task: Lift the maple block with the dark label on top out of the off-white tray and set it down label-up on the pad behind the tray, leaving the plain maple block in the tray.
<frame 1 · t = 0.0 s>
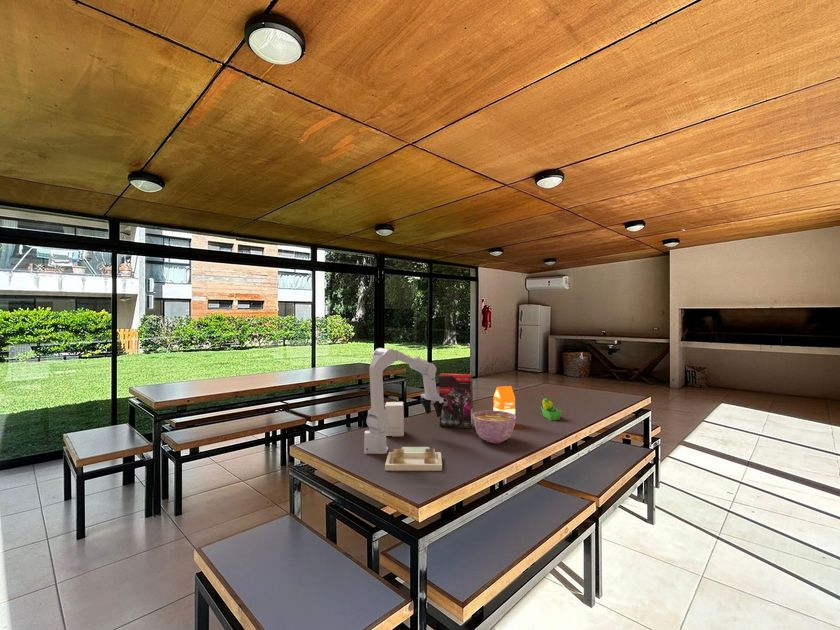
hand: (434, 414, 189), 11 cm above the table, tool pointing down, fingers open, 7 cm apart
bowl of food: (494, 440, 183), on the table
tray: (414, 464, 154), on the table
labelled block: (429, 463, 154), resting on tray
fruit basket: (550, 418, 223), on the table
pad: (415, 452, 168), on the table
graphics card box: (456, 426, 207), on the table
orange juice: (504, 424, 211), on the table
plain block: (398, 463, 154), resting on tray
supplement box: (394, 434, 194), on the table
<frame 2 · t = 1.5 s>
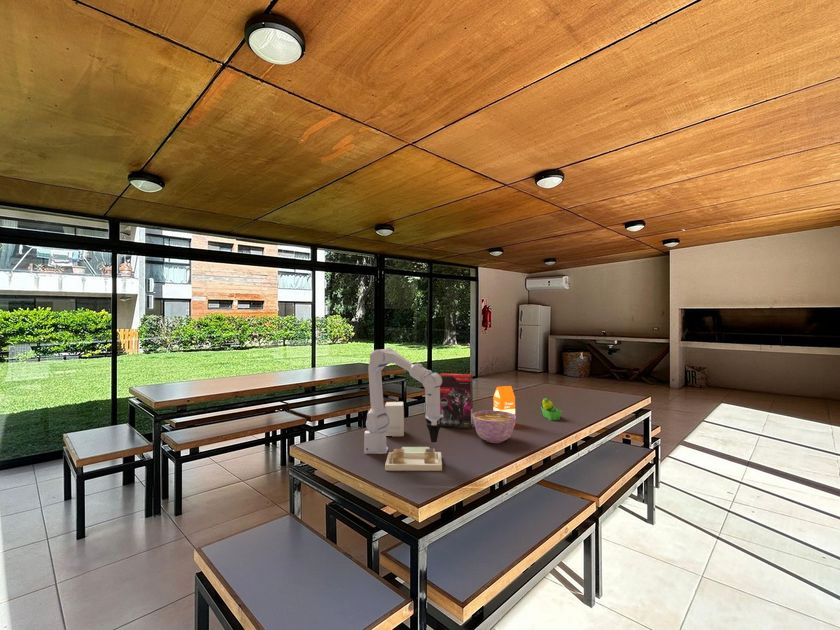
hand: (433, 438, 156), 9 cm above the table, tool pointing down, fingers open, 7 cm apart
nothing on the table moved.
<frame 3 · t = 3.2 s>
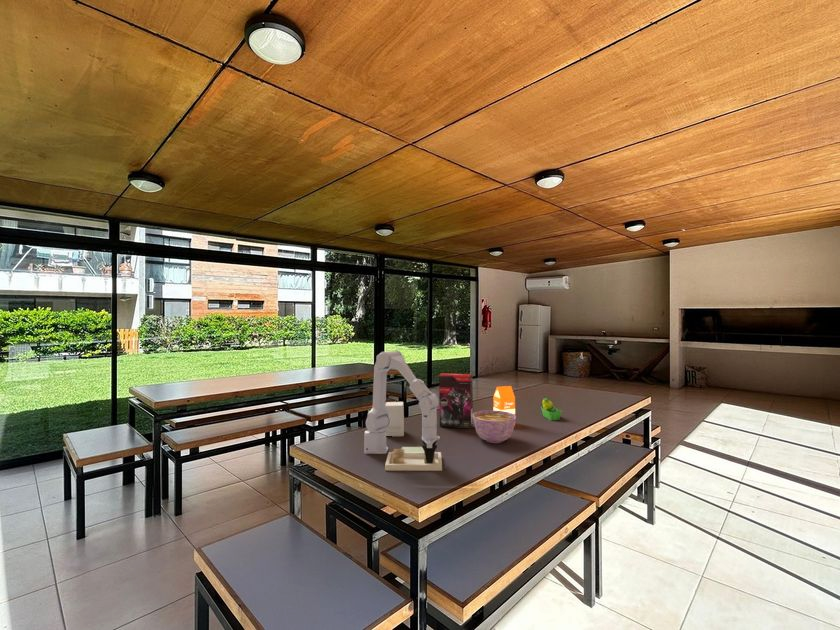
hand: (429, 460, 154), 2 cm above the table, tool pointing down, fingers closed on labelled block, 4 cm apart
labelled block: (429, 463, 154), resting on tray, touching gripper
everything else where it was.
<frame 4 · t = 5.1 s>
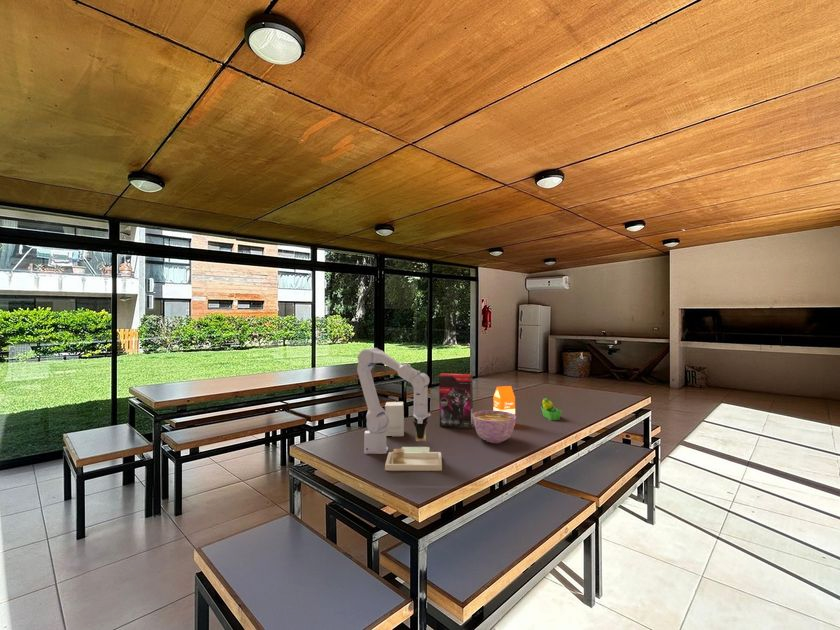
hand: (420, 436, 162), 8 cm above the table, tool pointing down, fingers closed on labelled block, 4 cm apart
labelled block: (420, 439, 162), point 7 cm above the table, touching gripper
everything else where it was.
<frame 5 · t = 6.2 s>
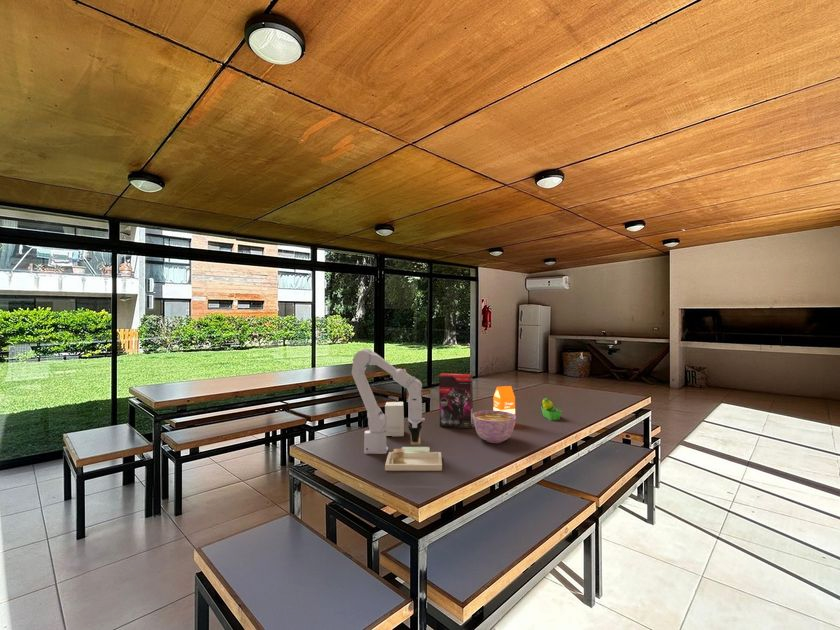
hand: (415, 440, 168), 5 cm above the table, tool pointing down, fingers closed on labelled block, 4 cm apart
labelled block: (415, 442, 168), point 4 cm above the table, touching gripper
everything else where it was.
when the fingers open (3 cm above the table, at t = 7.0 s): labelled block drops 1 cm, resting on pad.
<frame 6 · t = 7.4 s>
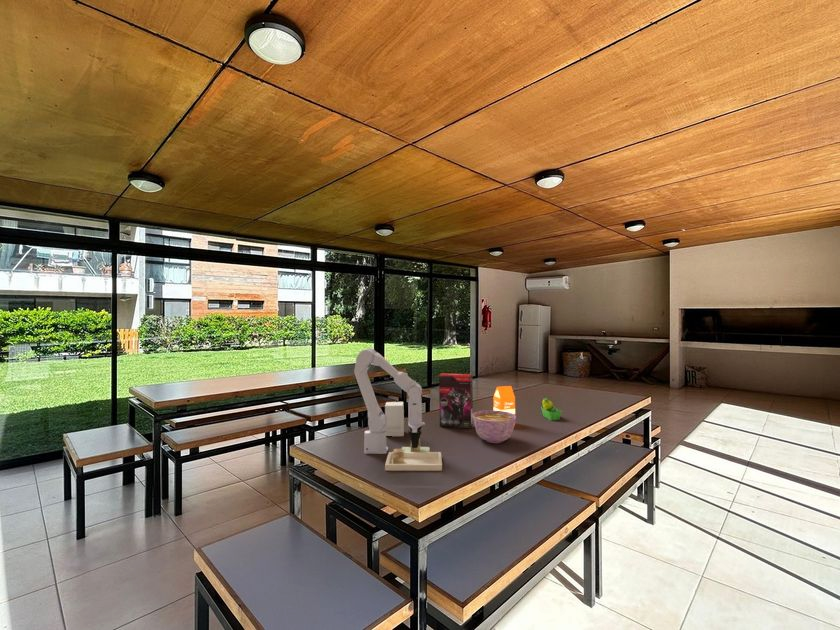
hand: (415, 444, 168), 3 cm above the table, tool pointing down, fingers open, 7 cm apart
labelled block: (415, 450, 168), point 1 cm above the table, touching pad
everything else where it was.
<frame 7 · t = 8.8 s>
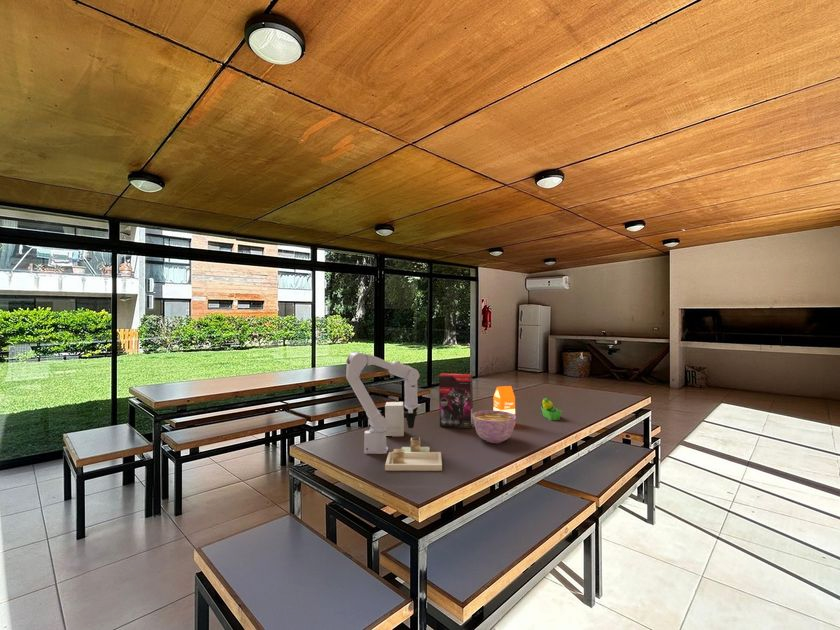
hand: (411, 425, 175), 9 cm above the table, tool pointing down, fingers open, 7 cm apart
nothing on the table moved.
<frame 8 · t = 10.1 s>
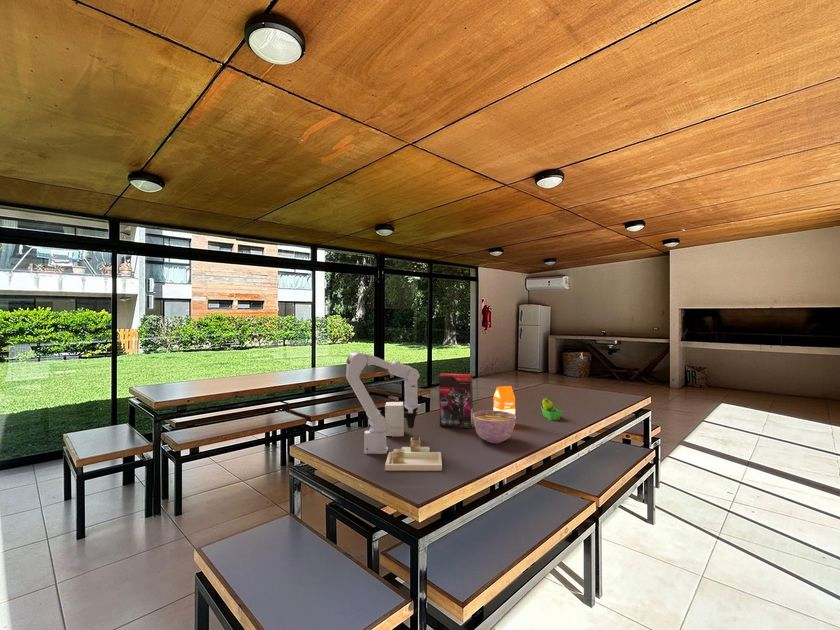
hand: (411, 425, 175), 9 cm above the table, tool pointing down, fingers open, 7 cm apart
nothing on the table moved.
at the end: labelled block inside the target area on the pad (0.1 cm from its centre), point 0.6 cm above the pad's base; labelled block tilted 0°; plain block moved 0.0 cm from its start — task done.
